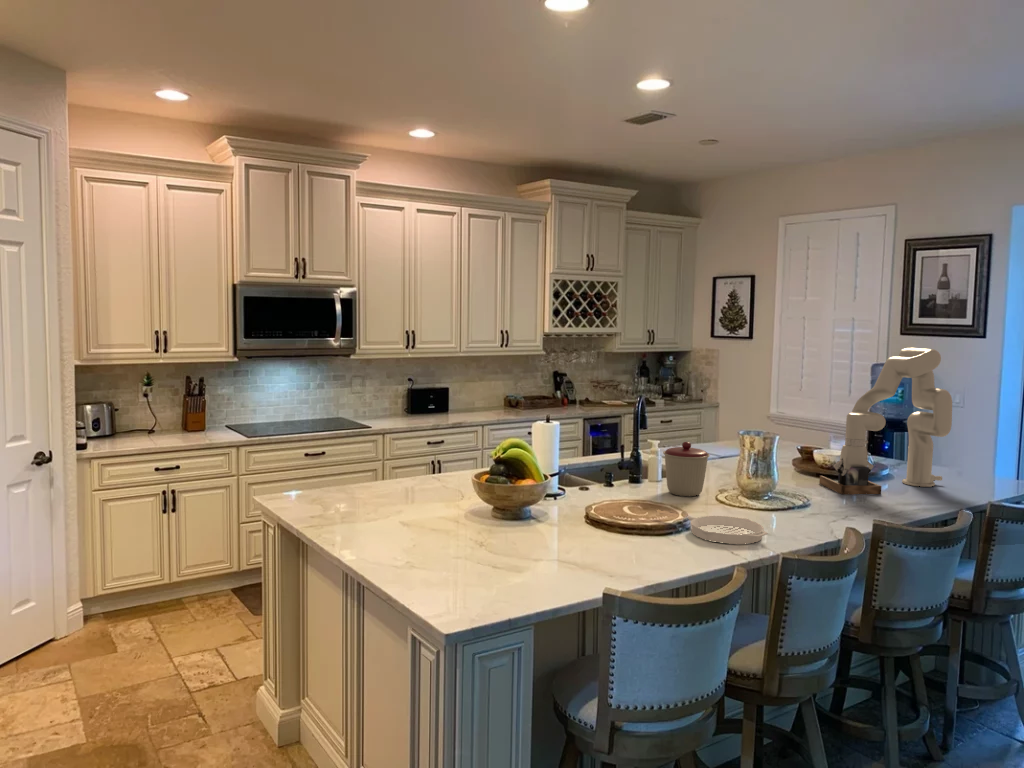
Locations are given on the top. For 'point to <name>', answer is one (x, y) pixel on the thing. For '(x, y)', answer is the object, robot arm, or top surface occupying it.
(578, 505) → the top surface
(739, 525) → the pan
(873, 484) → the wooden u-shaped frame
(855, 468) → the small box
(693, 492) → the canister
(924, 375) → the robot arm
